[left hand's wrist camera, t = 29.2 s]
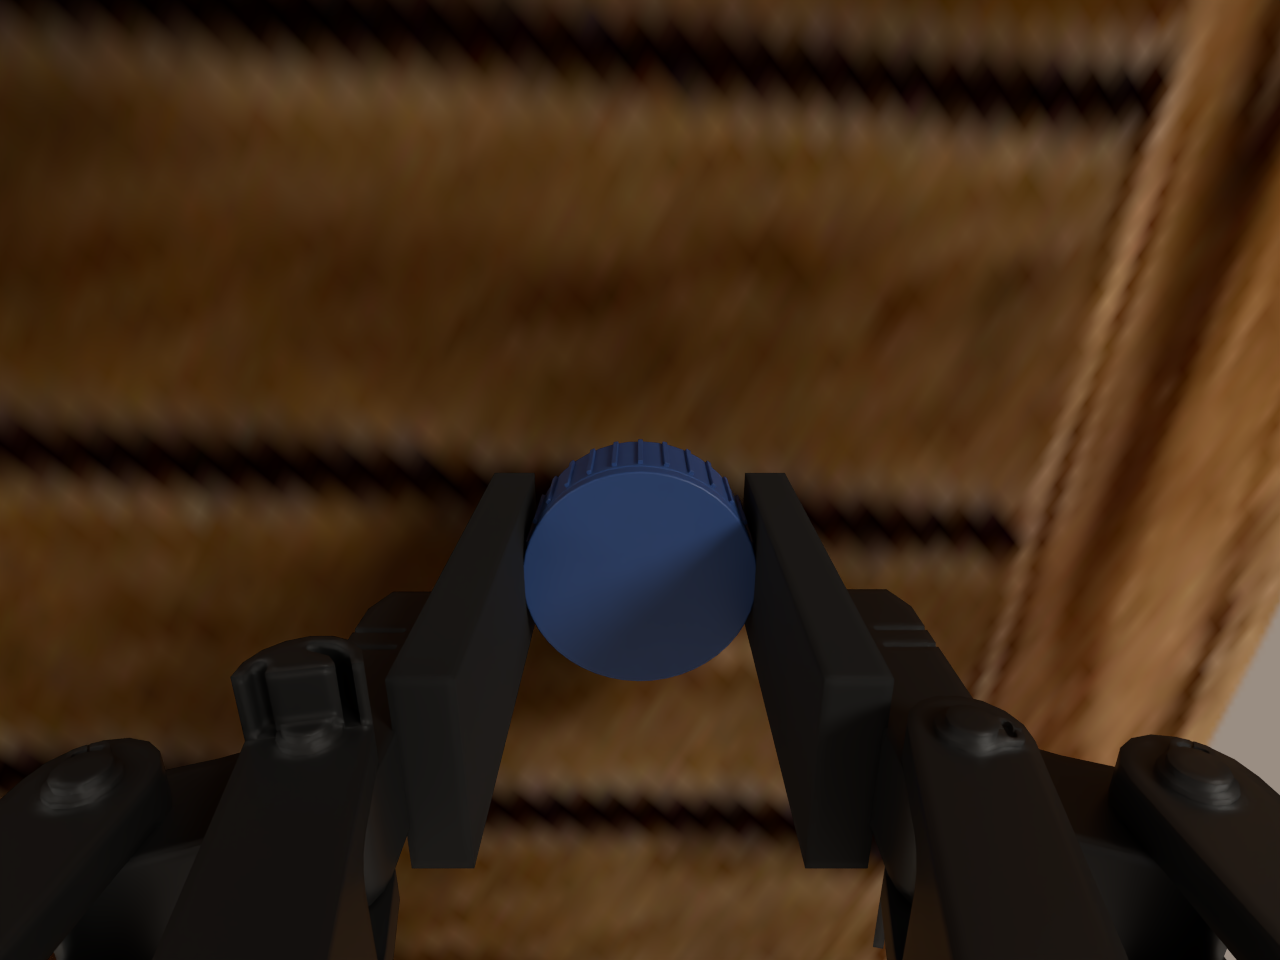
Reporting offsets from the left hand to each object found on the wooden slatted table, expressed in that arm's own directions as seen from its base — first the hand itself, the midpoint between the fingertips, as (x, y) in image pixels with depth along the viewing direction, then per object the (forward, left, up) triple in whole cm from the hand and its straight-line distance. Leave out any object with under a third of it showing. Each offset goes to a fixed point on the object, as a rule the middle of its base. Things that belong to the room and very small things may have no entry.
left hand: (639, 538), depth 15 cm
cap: (0, 0, +1) cm, 1 cm away
